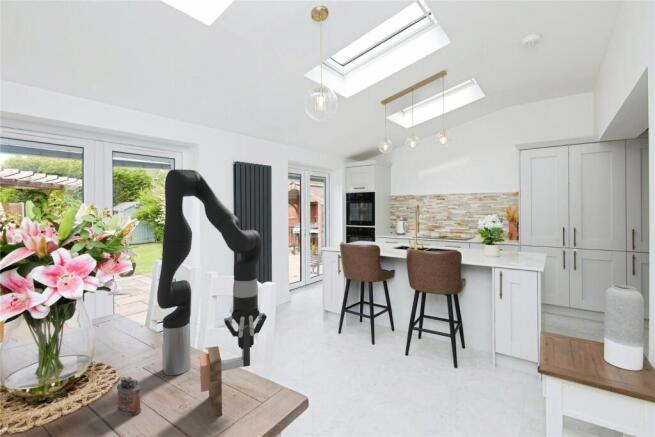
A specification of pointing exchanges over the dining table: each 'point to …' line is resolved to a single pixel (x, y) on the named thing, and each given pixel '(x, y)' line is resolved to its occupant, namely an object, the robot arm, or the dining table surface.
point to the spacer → (205, 372)
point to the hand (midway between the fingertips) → (245, 346)
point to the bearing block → (215, 382)
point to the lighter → (129, 397)
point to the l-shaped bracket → (245, 357)
